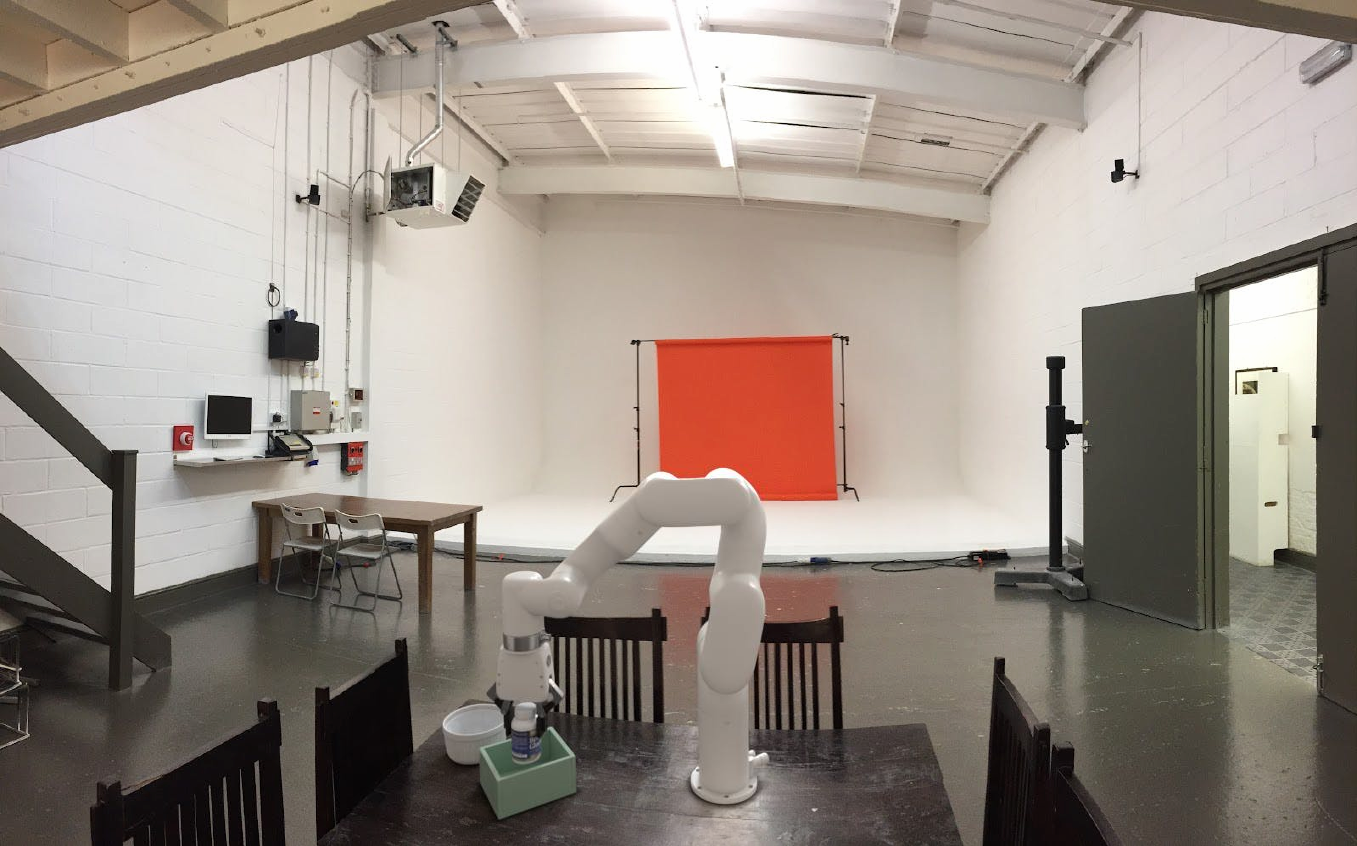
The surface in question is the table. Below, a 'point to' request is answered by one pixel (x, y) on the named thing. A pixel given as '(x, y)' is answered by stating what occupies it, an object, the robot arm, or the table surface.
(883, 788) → the table surface
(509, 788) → the green open box
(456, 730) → the ramekin
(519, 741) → the pill bottle
